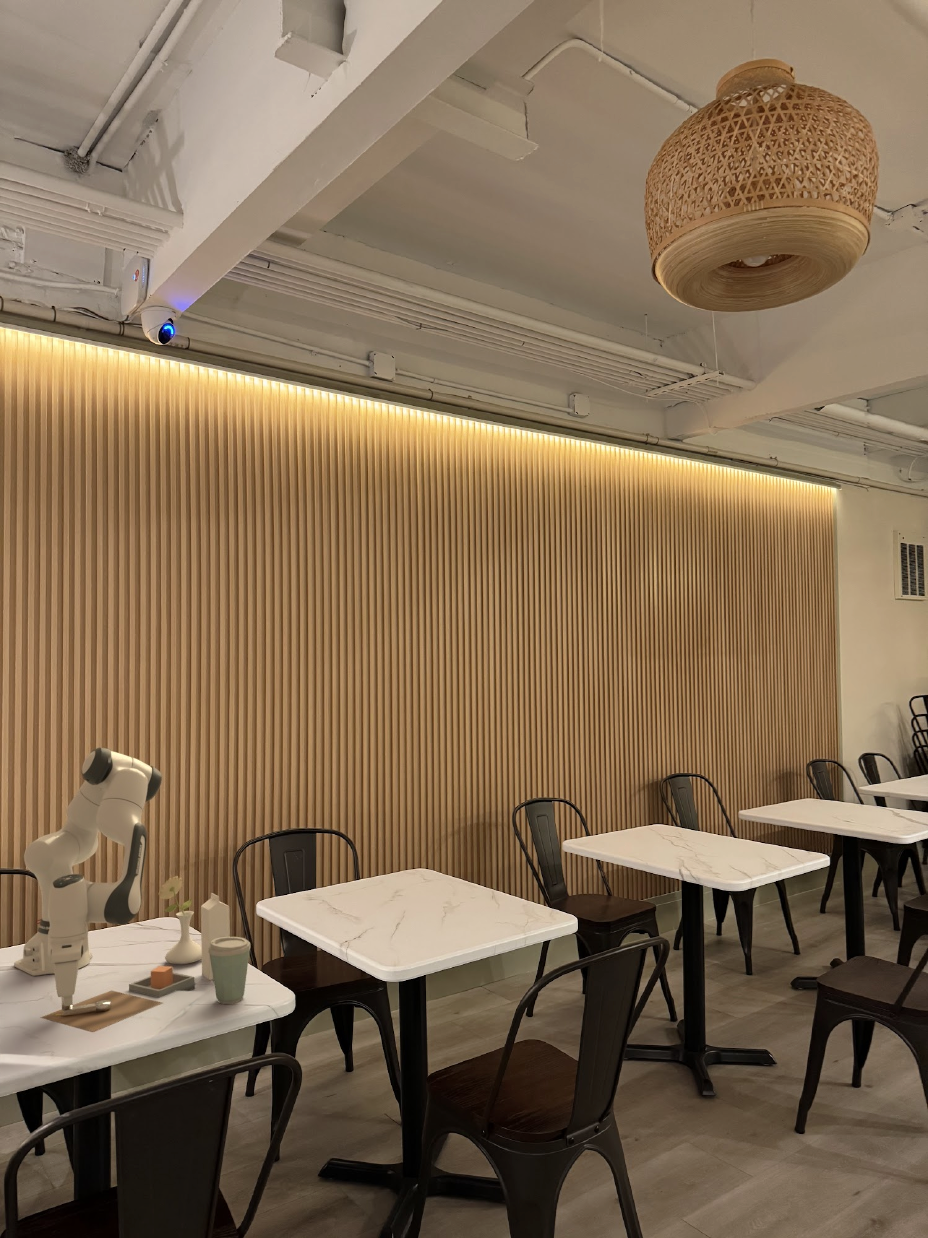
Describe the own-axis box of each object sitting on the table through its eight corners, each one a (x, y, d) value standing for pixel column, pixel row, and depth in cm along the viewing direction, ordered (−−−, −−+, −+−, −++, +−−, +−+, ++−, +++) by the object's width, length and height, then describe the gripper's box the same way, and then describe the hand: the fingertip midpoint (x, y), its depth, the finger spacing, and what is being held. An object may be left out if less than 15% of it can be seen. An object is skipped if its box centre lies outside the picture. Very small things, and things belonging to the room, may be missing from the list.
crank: (110, 1005, 218) (110, 980, 218) (110, 1010, 215) (110, 984, 215) (61, 1012, 214) (60, 987, 214) (59, 1018, 210) (59, 992, 211)
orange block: (150, 991, 229) (150, 971, 230) (159, 985, 233) (158, 966, 234) (164, 991, 229) (164, 972, 229) (172, 986, 232) (172, 966, 233)
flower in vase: (197, 952, 264) (196, 868, 266) (211, 961, 255) (210, 874, 257) (154, 962, 256) (153, 875, 258) (166, 972, 247) (165, 882, 249)
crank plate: (40, 1023, 212) (40, 1017, 212) (111, 996, 229) (111, 990, 229) (93, 1039, 202) (93, 1031, 202) (163, 1009, 219) (163, 1002, 219)
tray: (129, 996, 229) (129, 984, 229) (164, 982, 239) (164, 970, 239) (159, 1003, 223) (159, 991, 223) (194, 988, 233) (194, 977, 233)
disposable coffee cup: (249, 990, 230) (248, 931, 231) (254, 1003, 220) (253, 942, 221) (207, 996, 227) (206, 937, 228) (211, 1011, 217) (210, 949, 218)
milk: (209, 980, 239) (207, 898, 240) (201, 975, 244) (200, 894, 245) (231, 975, 242) (229, 894, 244) (222, 970, 247) (220, 890, 249)
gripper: (56, 936, 220) (56, 993, 219) (50, 958, 201) (50, 1020, 200) (84, 933, 222) (84, 989, 221) (80, 954, 203) (80, 1016, 202)
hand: (68, 1004), depth 210 cm, fingers closed
